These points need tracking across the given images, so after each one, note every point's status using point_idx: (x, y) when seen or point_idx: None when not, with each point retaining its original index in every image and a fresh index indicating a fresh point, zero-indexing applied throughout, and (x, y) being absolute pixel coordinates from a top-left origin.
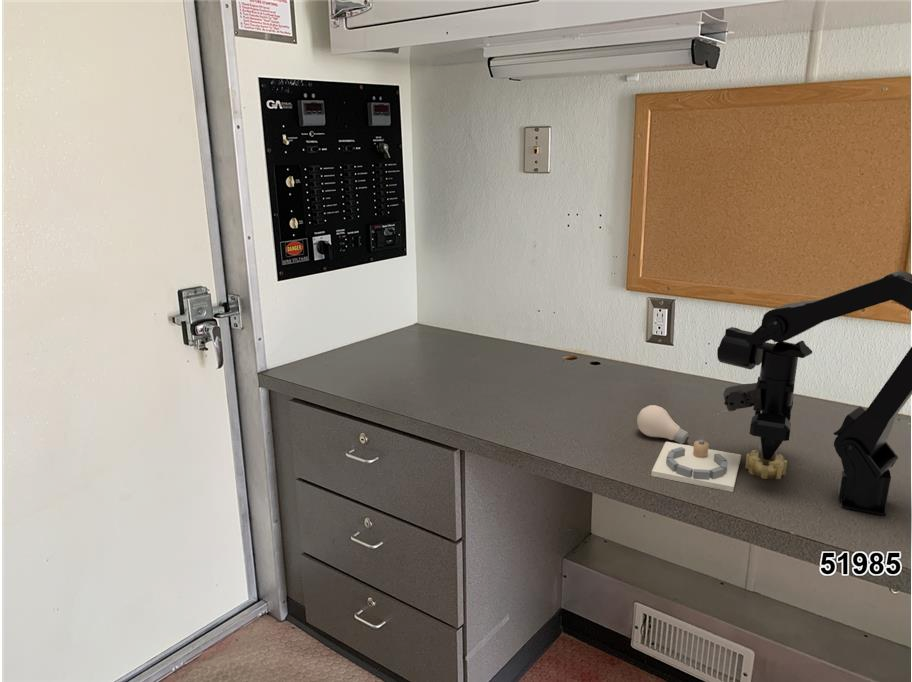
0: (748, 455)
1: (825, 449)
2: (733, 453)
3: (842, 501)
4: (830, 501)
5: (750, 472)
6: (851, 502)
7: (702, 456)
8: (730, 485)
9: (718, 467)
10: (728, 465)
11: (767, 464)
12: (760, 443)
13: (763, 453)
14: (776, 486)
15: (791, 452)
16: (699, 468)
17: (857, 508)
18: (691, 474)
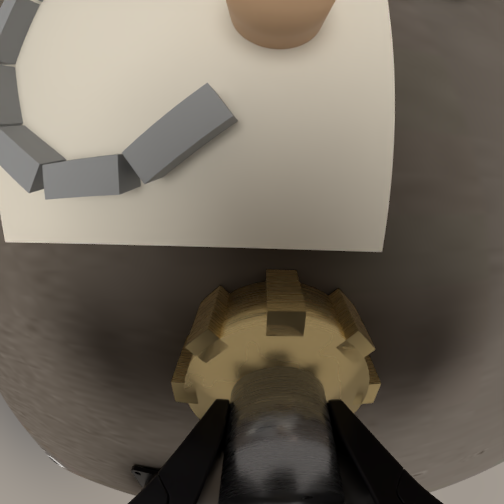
0: (271, 321)
1: (461, 434)
2: (387, 207)
3: (149, 474)
4: (151, 457)
5: (208, 298)
6: (147, 483)
7: (231, 21)
8: (7, 229)
9: (29, 159)
10: (188, 189)
11: (192, 399)
12: (257, 452)
13: (195, 426)
14: (149, 376)
15: (453, 392)
16: (84, 53)
17: (137, 480)
18: (2, 63)
